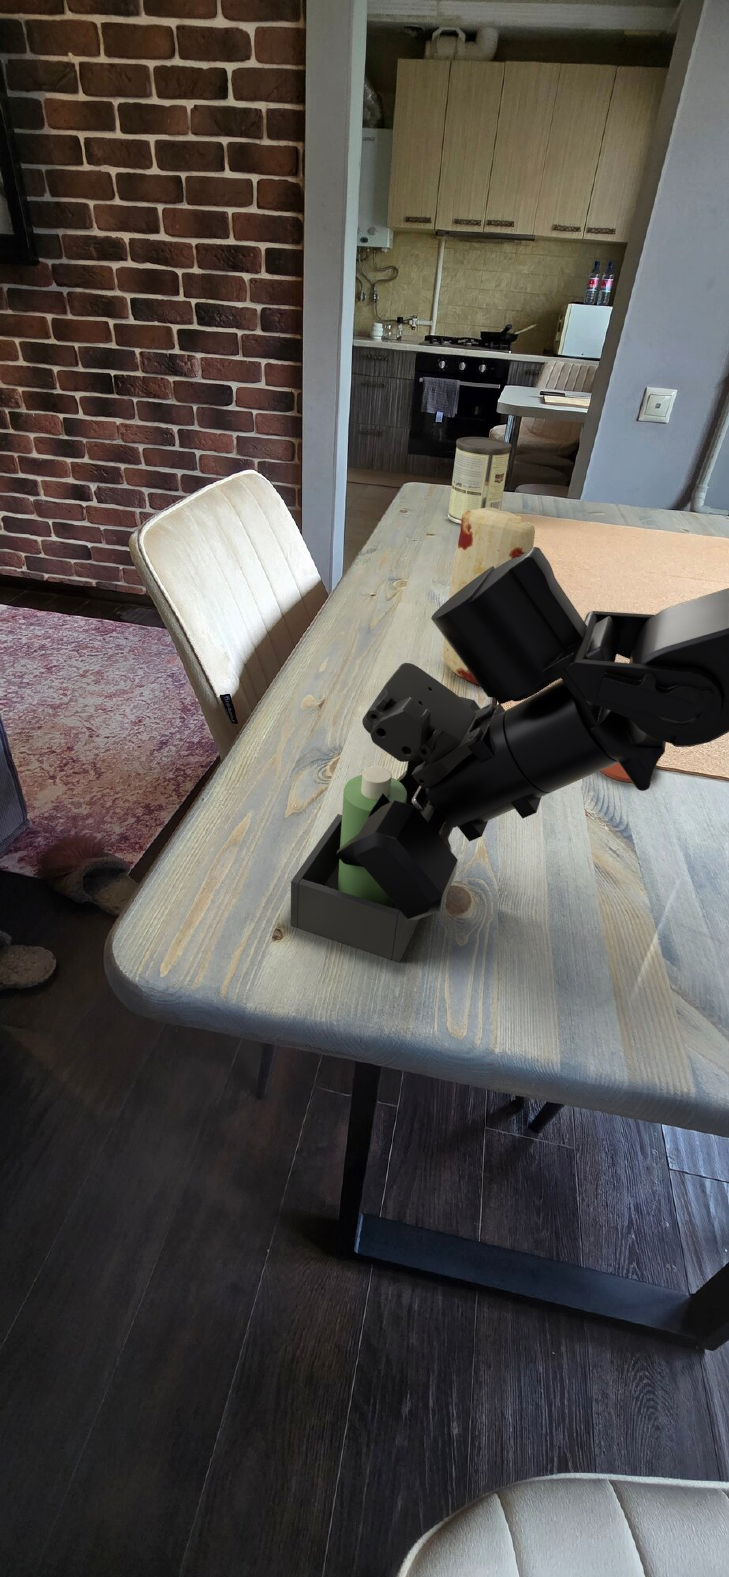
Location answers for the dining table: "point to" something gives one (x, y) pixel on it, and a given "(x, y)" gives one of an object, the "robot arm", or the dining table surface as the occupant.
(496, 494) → the coffee can
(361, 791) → the soap bottle
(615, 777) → the mat
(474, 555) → the food model
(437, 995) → the dining table surface
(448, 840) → the robot arm
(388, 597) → the dining table surface
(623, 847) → the dining table surface
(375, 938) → the dark grey open box
